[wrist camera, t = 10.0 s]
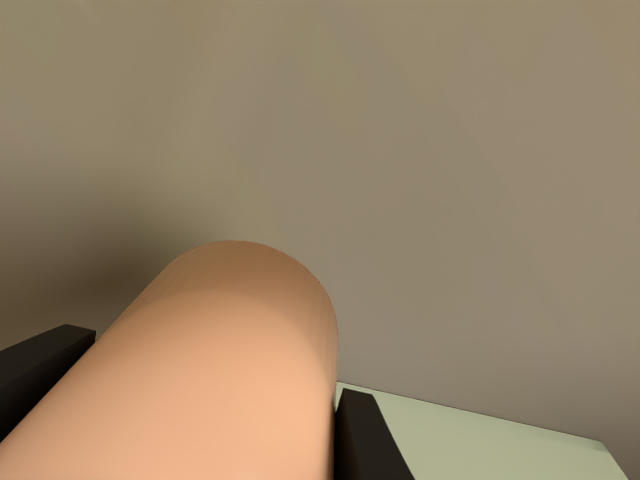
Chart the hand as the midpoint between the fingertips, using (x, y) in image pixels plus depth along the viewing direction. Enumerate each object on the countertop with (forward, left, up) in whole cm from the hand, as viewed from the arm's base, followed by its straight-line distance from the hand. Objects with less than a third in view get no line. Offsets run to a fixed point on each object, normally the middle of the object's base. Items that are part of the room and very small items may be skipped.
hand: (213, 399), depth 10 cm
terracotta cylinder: (0, 0, -3) cm, 3 cm away
